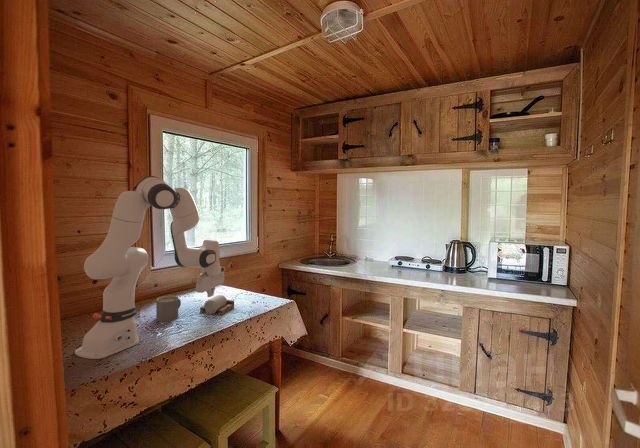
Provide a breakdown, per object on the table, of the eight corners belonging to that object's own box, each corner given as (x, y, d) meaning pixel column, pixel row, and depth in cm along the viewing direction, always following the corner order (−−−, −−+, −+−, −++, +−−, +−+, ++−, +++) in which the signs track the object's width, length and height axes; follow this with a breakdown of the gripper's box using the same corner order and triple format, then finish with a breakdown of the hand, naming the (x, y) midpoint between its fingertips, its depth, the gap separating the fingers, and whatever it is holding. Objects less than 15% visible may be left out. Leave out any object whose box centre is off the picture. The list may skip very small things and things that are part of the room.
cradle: (221, 315, 165) (221, 307, 165) (200, 312, 168) (200, 304, 168) (234, 307, 177) (234, 300, 177) (213, 304, 180) (213, 297, 180)
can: (214, 316, 165) (226, 308, 176) (216, 302, 164) (228, 296, 175) (202, 312, 166) (215, 305, 178) (204, 298, 166) (217, 292, 177)
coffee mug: (164, 323, 152) (164, 303, 151) (152, 318, 157) (152, 299, 156) (188, 315, 163) (188, 296, 163) (175, 311, 168) (176, 292, 167)
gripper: (203, 275, 153) (203, 303, 154) (226, 267, 173) (226, 291, 174) (192, 274, 155) (192, 301, 156) (216, 266, 174) (216, 290, 175)
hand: (210, 296), depth 165 cm, fingers closed
